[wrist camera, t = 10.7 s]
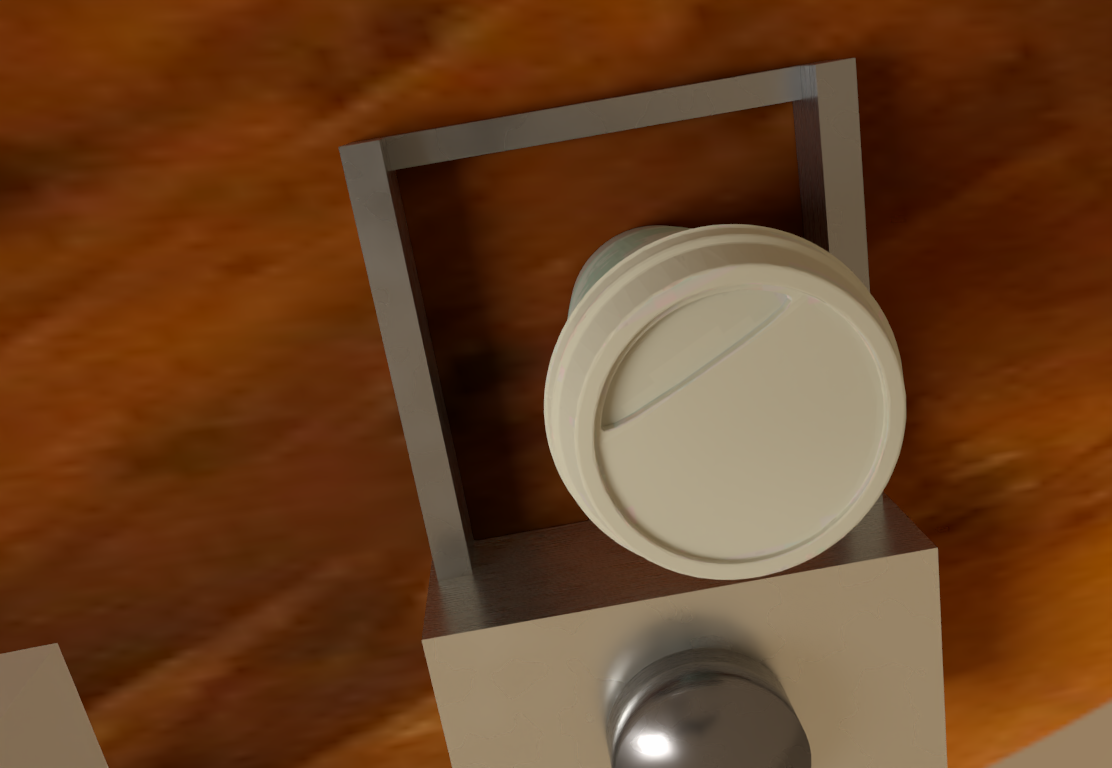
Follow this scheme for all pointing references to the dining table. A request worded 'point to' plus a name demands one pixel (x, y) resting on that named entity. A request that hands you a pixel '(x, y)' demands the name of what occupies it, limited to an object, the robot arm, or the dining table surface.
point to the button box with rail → (631, 580)
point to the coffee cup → (723, 398)
